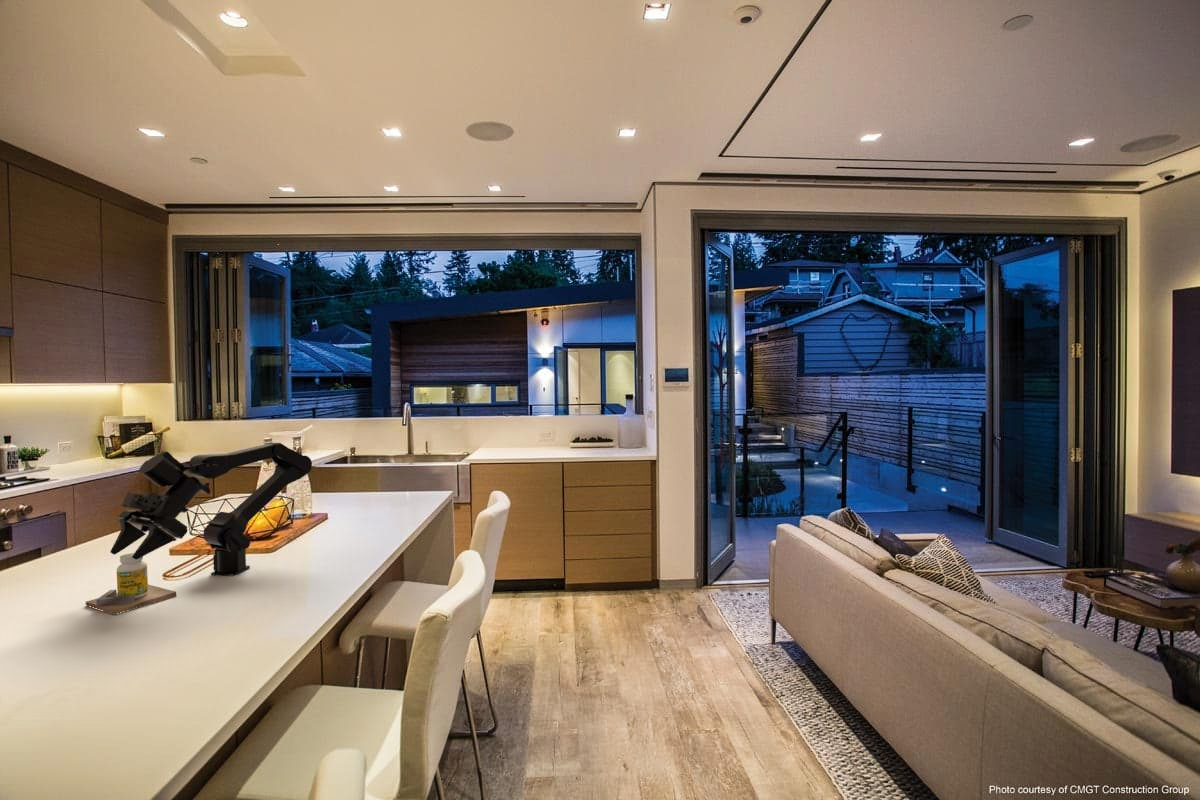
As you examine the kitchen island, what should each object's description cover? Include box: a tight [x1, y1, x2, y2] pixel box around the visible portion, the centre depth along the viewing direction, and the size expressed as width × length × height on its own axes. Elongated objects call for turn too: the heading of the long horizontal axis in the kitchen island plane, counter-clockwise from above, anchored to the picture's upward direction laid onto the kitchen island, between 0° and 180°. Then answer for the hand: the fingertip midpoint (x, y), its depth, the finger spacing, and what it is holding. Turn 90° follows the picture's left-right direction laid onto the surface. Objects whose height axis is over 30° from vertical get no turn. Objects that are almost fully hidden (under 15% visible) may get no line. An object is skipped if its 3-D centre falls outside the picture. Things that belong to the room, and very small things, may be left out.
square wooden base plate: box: [85, 584, 177, 615], centre depth 128 cm, size 12×12×2 cm
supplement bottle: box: [116, 552, 149, 599], centre depth 128 cm, size 5×5×10 cm
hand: (122, 556), depth 127 cm, fingers open, 9 cm apart
